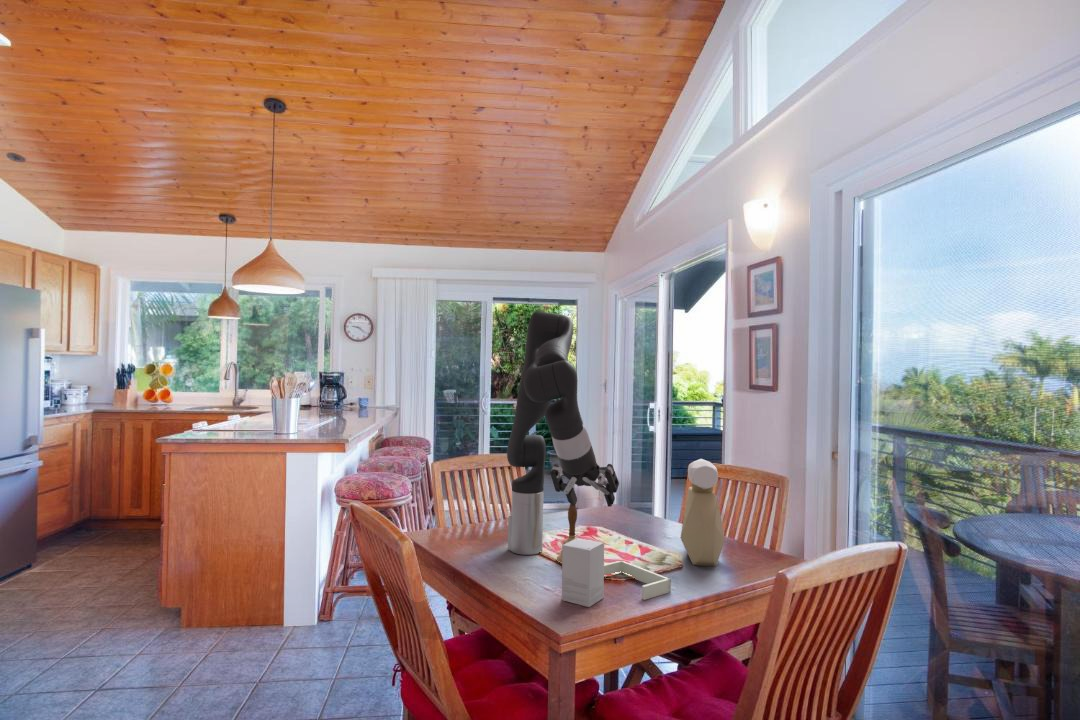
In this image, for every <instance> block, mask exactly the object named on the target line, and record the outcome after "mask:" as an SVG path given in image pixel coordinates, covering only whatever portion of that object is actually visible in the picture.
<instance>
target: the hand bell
mask: <svg viewBox="0 0 1080 720" xmlns="http://www.w3.org/2000/svg"><path fill="white" fill-rule="evenodd" d="M576 505H577V504H576ZM576 505H575V506H572V505H571V503H569V507H568V510H567V521H568V525H569V527H568V528H569V529H568V538H566V539H564V541H563V544H562V545H564V544H566V543H568V542H570V541H572V540H574V539H576V523H577V520H578V509H577V506H576ZM556 558H557V560H558V561H560V562H562V550H561V552H560V554H559V555H558V556H557V557H556Z"/></svg>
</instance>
